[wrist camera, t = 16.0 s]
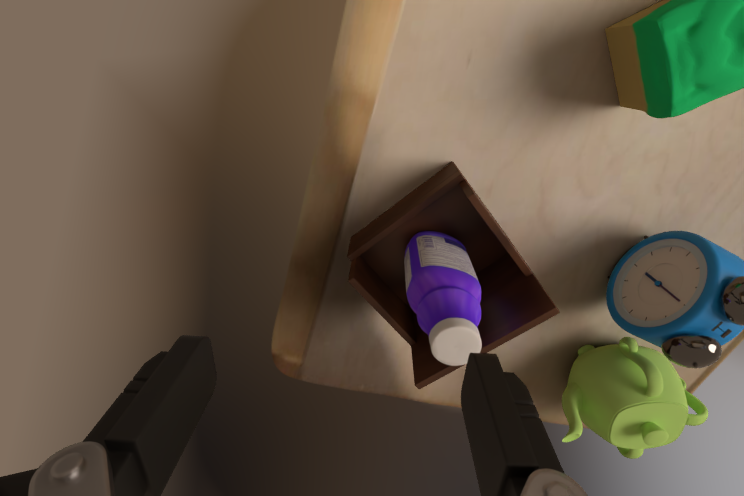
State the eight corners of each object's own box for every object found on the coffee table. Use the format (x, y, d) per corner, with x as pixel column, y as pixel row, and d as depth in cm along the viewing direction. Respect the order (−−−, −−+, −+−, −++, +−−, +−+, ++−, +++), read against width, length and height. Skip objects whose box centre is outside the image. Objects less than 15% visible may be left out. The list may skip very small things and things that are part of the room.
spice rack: (350, 237, 50) (336, 309, 35) (452, 161, 45) (484, 208, 30) (410, 302, 54) (419, 389, 40) (509, 238, 49) (560, 312, 35)
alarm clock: (658, 212, 47) (768, 273, 33) (695, 232, 48) (816, 300, 34) (587, 291, 52) (657, 372, 39) (622, 308, 53) (702, 392, 40)
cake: (719, 69, 40) (817, 71, 31) (614, 115, 42) (676, 131, 33) (710, -33, 36) (819, -64, 27) (595, 24, 38) (660, 14, 29)
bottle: (397, 262, 47) (403, 364, 31) (411, 221, 44) (425, 309, 28) (453, 276, 47) (487, 383, 32) (470, 236, 45) (515, 331, 29)
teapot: (578, 415, 63) (620, 494, 52) (528, 370, 59) (562, 444, 48) (672, 366, 58) (742, 441, 46) (625, 311, 53) (689, 379, 42)
